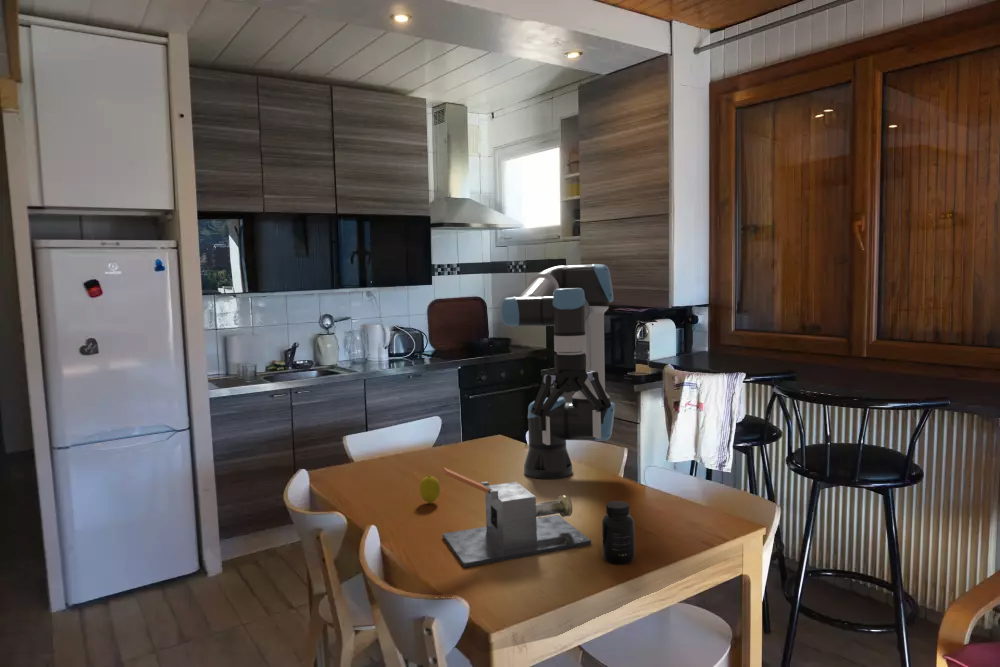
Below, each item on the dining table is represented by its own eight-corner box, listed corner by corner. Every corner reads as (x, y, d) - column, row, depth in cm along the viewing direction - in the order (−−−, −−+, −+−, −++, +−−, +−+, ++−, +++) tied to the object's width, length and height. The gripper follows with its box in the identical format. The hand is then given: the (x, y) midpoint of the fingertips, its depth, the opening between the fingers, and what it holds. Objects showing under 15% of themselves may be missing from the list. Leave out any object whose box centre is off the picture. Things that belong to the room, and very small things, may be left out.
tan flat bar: (487, 491, 152) (489, 486, 152) (493, 496, 148) (495, 492, 148) (440, 470, 148) (442, 465, 148) (445, 475, 144) (447, 470, 144)
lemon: (437, 507, 177) (436, 478, 177) (417, 506, 179) (416, 477, 178) (443, 500, 183) (441, 472, 182) (424, 499, 184) (422, 471, 183)
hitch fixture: (558, 518, 166) (556, 465, 165) (591, 544, 149) (589, 485, 148) (442, 537, 156) (440, 480, 155) (464, 567, 139) (461, 504, 138)
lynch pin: (563, 512, 159) (563, 492, 159) (572, 519, 155) (572, 498, 154) (503, 522, 154) (502, 501, 154) (510, 529, 149) (509, 507, 149)
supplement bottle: (599, 553, 145) (598, 499, 144) (629, 551, 145) (629, 498, 144) (607, 566, 138) (606, 510, 137) (639, 564, 138) (638, 508, 137)
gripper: (607, 348, 165) (609, 432, 166) (515, 354, 156) (518, 443, 157) (623, 350, 158) (625, 438, 159) (528, 357, 149) (530, 450, 150)
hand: (572, 440), depth 158 cm, fingers open, 13 cm apart
